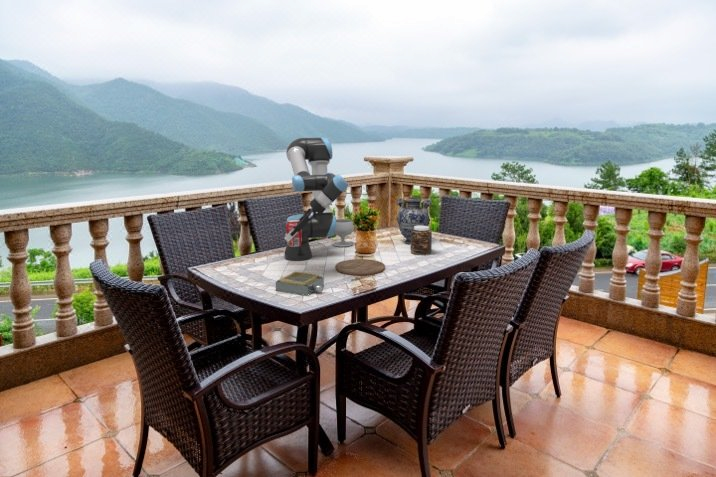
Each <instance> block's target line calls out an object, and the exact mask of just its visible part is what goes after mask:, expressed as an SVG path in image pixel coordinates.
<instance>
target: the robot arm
mask: <svg viewBox="0 0 716 477" xmlns="http://www.w3.org/2000/svg"><path fill="white" fill-rule="evenodd" d="M331 143H332V142H331V140H330V139H328V138H327V137H298V138H296V139H294V140H293V141H291V143H289V145H288V146H287V148H286V158H287V160H288V161H289V163H290V165H291V168H292V172H293V176H292V178H291V185H292V190H293V191H294V192H300V193H302V192H312V200H311V201H310V202H309V206H310V207H311V208H308V209H307V210H306V212H304V213H298V214H293V215H291V216H288V217H287V219H286V223H287V222H288V220H294V219H295V220H300V222H299V223H298V225H297V226H296V227H293V229H292V230H291V231H290V232H289V233H288V234H286V233H284V235H285V236H284V237H283V238H284V240H285V241H286V242H287V241H288V242H289V241H290V240H291V239H292V238H293V237H294V236H295V235H296V234H297V233H298V232H300V230H301V229H302V244H301V245H300V246H298V247H290V246H289V245H287V244H286V247H285V251H284V255H283V256H284V259H285V260H287V261H288V260H289V261H294V262H295V261H297V262H298V261H300V262H301V261H307V260H310V259H311V258H313V251H312V248H311V245H310V242H309V241H310V240H309V239H315V238H316V239H317V238H328V237H329V238H330V237H333V236H334V235H335V230H336V219H337V217H336V215H334V214H333V211H332V210H331V207H330V206H333V202H335V201H336V200H337V199H338V198H339V197H340V195H342V193H344V192H345V191H346V189H347V188H348V187H349V182H347V181H346V180H345V178H344V177H343V176H341V175H340V174H334V173H333V172H328V165H329V164H330V162H331V160H332V159H333V147H332V144H331ZM306 160H307V161H308V162H307V161H306ZM307 163H308V164H309V165H310V166H311V172H310V170H309V167H308V164H307Z"/></svg>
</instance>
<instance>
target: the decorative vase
mask: <svg viewBox="0 0 716 477" xmlns="http://www.w3.org/2000/svg"><path fill="white" fill-rule="evenodd" d="M432 202H433V201H432V199H430V198H425V199H424V200H423V199H421V197H417V196H412V197H411V196H410V197H407V199H403V198H397V200H396V205H397V206H399V208H398V214H397V217H396V222H397V224H398V228H399V232H400V233H401V235H402V236H403V238H404V239H405V240H404V242H403V243H404V244H406V245H411V230H413V229H414V226H419V225H422V226H428V227H429V225H430V222H431V218H430V215H429V212H430V211H429V209H428V207H431V206H432Z"/></svg>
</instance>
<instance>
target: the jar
mask: <svg viewBox="0 0 716 477" xmlns="http://www.w3.org/2000/svg"><path fill="white" fill-rule="evenodd" d="M432 232H433V231H432V230H431V229H430V226H429V225H428V226H422V225H419V226H414V229H413V230H411V244H410V249H409V250H410V254H412V255H416V256H428V255H432V248H433V233H432Z"/></svg>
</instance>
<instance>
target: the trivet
mask: <svg viewBox="0 0 716 477" xmlns="http://www.w3.org/2000/svg"><path fill="white" fill-rule="evenodd" d="M334 268H335V271H336V272H337V273H339V274H342V275H346V276H353V277H362V276H363V277H365V276H367V275H368V276H374V275H378V273H379V274H380V273H383V272H384V271H385V270H386V264H385V263H383V262H381V261H379V260H375V259H367V258H355V259H346V260H341V261H339V262H337V263H336V264H335V265H334Z"/></svg>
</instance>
